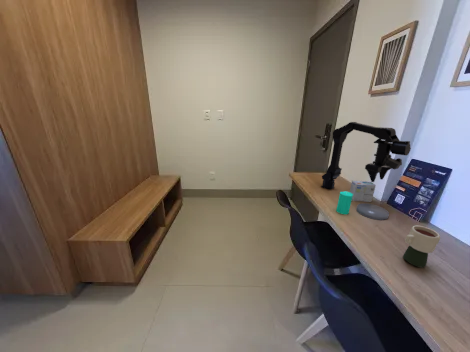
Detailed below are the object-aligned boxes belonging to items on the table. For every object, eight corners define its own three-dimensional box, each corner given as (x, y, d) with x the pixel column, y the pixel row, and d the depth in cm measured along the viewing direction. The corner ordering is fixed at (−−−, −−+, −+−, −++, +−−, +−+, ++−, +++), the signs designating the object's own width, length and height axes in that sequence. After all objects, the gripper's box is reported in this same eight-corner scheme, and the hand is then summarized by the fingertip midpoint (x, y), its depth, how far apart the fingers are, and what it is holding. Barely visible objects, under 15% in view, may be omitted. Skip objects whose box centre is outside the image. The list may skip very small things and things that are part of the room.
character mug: (420, 255, 75) (432, 225, 71) (438, 270, 68) (452, 238, 64) (391, 254, 75) (401, 224, 71) (405, 269, 69) (417, 237, 64)
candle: (347, 209, 107) (352, 189, 104) (349, 215, 102) (354, 193, 98) (335, 208, 109) (339, 187, 105) (336, 213, 104) (341, 192, 100)
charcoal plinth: (351, 210, 107) (352, 207, 106) (364, 204, 114) (364, 201, 114) (380, 222, 96) (381, 219, 95) (392, 215, 103) (393, 211, 103)
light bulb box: (365, 197, 123) (370, 181, 120) (371, 202, 117) (376, 185, 113) (347, 196, 124) (351, 180, 121) (352, 201, 118) (356, 184, 114)
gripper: (392, 156, 94) (385, 188, 99) (409, 153, 103) (402, 181, 108) (367, 153, 103) (361, 182, 108) (385, 150, 112) (379, 176, 117)
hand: (377, 180), depth 110 cm, fingers open, 9 cm apart
